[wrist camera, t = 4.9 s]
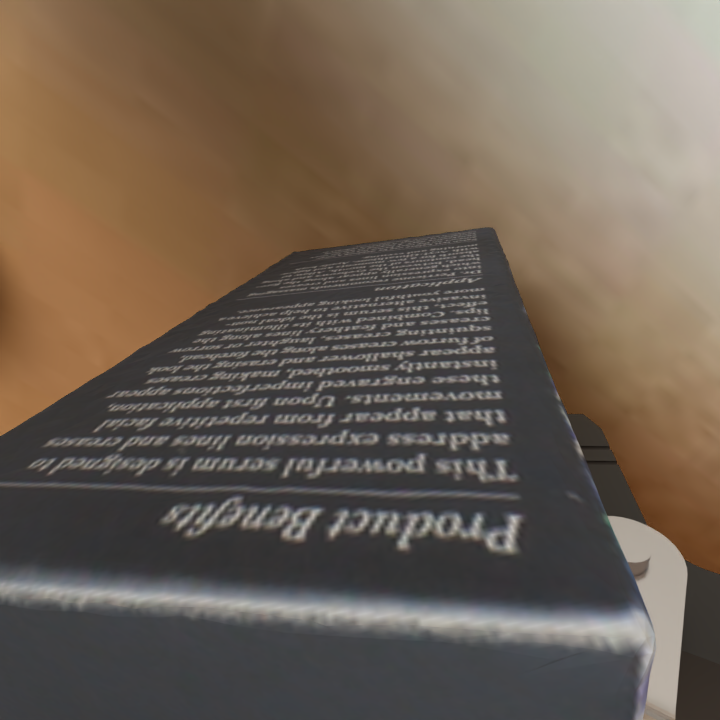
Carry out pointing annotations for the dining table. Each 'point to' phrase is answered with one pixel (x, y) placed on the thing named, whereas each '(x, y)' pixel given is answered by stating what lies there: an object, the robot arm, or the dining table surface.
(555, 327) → the dining table surface
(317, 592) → the box
